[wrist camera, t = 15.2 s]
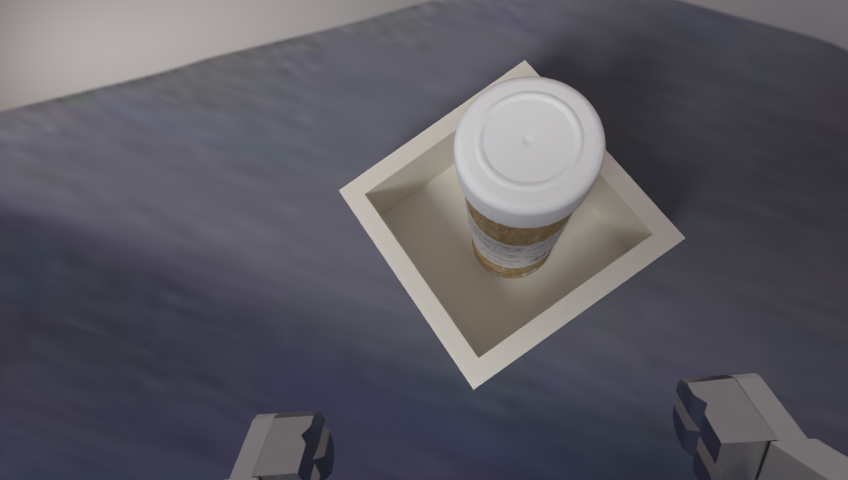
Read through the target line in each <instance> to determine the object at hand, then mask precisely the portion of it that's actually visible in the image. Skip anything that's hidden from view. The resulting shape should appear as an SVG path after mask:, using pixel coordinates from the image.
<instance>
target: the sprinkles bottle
mask: <svg viewBox="0 0 848 480" xmlns="http://www.w3.org/2000/svg"><path fill="white" fill-rule="evenodd" d="M605 148H606V142H605V134H604V129H603V126H602V123H601V120H600V118H599V116H598V114H597V112H596V110H595V109H594V108H593V106H592V105H591V104H590V102H589V101H588V100H587V99H586V98H585V97H584V96H583V95H582V94H580V93H579V92H578V91H576V90H575V89H574V88H572V87H570V86H569V85H567V84H564V83H562V82H560V81H557V80H554V79H549V78H545V77H535V76H527V77H518V78H513V79H509V80H505V81H503V82H500V83H498V84H495V85H494V86H492V87H490V88H488V89H487V90H485V91H484V92H483V93H481V94H480V95H479V96H477V97H476V98H475V99H474V100H473V101H472V102H471V104H470V105H469V106H468V107H467V109H466V110H465V112H464V113H463V115H462V117H461V118H460V121H459V123H458V126H457V129H456V133H455V138H454V160H455V167H456V172H457V177H458V181H459V184H460V187H461V190H462V192H463V194H464V196H465V203H466V208H467V214H468V220H469V225H470V230H471V235H472V246H473V249H474V254H475V256H476V258H477V259H478V260H479V262H480V263H481V265H482V266H483V267H484V268H485V269H486V270H488V271H489V272H491V273H493V274H494V275H496V276H499V277H504V278H521V277H525V276H528V275H530V274H532V273H533V272H535V271H537V270H538V269H539V268H540V267H541V266H542V265H543V264H544V263H545V262H546V260H547V258H548V256H549V255H550V252H551V250H552V248H553V247H554V245H555V243H556V242H557V240H558V239H559V237H560V235H561V234H562V232H563V230H564V228H565V226H566V225H567V223H568V221H569V219H570V218H571V216H572V214H573V212H574V211H575V210H576V209H577V208H578V207H579V206H580V205H581V204H582V202H583V201H584V200H585V199H586V197H587V196H588V194H589V192H590V191H591V189H592V187H593V185H594V183H595V181H596V179H597V177H598V175H599V173H600V170H601V168H602V165H603V162H604V157H605Z"/></svg>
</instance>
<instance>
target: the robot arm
mask: <svg viewBox="0 0 848 480" xmlns="http://www.w3.org/2000/svg"><path fill="white" fill-rule="evenodd" d="M676 392H677V393H678V395H679V397H680V400H679V401H678V402H677V403H675V404H674V409H673V421H674V427H675V431H676V433H677V436H678V439H679V441H680V443H681V445H682V448H683V449H684V450H686V451H687V452H688V453H690V454H691V455H692V456H694V457H695V458H694V463H693V467H692V468H693V470H694V472H695V474H696V476H697V478H698V480H848V457H846V456H845V455H843V454H841V453H840V452H838V451H836V450H834V449H833V448H831V447H829V446H828V445H826V444H824V443H823V442H821V441H819V440H818V439H808V438H807V437H806V436H805V434H804V433H803V432H802V430H801V429H800V428H799V426H798V425H797V424H796V422H795V421H794V420H793V418H792V417H791V416H790V415H789V413H788V412H787V411H786V409H785V408H784V407H783V405H782V404H781V403H780V401H779V400H778V399H777V397H776V396H775V395H774V394H773V392H772V391H771V390H770V388H769V387H768V386H767V384H766V383H765V382H764V380H763V379H762V378H761V377H760V376H759V375H757V374H756V373H749V374H737V375H729V376H728V375H720V376H710V377H700V378H690V379H681V380H680V381H679V382H678V384H677V390H676ZM324 422H325V419H324V417H323V415H322V413H321V411H305V412H287V413H272V414H258V415H257V416H256V417H255V419H254V420H253V421H252V424H251V426H250V428H249V431H248V433H247V436H246V438H245V441H244V443H243V446H242V448H241V451H240V453H239V456H238V458H237V461H236V463H235V466H234V468H233V471H232V473H231V476H230V478H229V479H225V480H326V479H327V478H328V476H329V475H330V474H331V473H332V468H333V463H334V444H333V439H332V436H331V434H330V432H329V431H328V430H326V429H325V428H323V426H324Z"/></svg>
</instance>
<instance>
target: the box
mask: <svg viewBox="0 0 848 480" xmlns="http://www.w3.org/2000/svg"><path fill="white" fill-rule="evenodd" d="M527 76H535V77H540V76H539V75H538V74H537V73H536V72H535V70H534V69H533V68H532V67H531V66H530V65H529V64H528V63H527V62H526V60H525V61H523V62H522V63H520V64H519V65H517V66H516V67H515V68H513V69H512V70H510V71H509V72H507V73H506V74H505V75H503V76H502V77H500V78H499V79H497V80H496V81H495V82H493V83H492V84H490V85H489V86H487V87H486V88H485V89H483V90H482V91H480V92H479V93H477V94H476V95H475V96H473V97H472V98H470V99H469V100H467V101H466V102H465V103H463V104H462V105H460V106H459V107H457V108H456V109H455V110H453V111H452V112H450V113H449V114H447V115H446V116H445V117H443V118H442V119H440V120H439V121H437V122H436V123H435V124H433V125H432V126H430V127H429V128H427V129H426V130H425V131H423V132H422V133H420V134H419V135H417V136H416V137H415V138H413V139H412V140H410V141H409V142H407V143H406V144H405V145H403V146H402V147H400V148H399V149H397V150H396V151H395V152H393V153H392V154H390V155H389V156H387V157H386V158H385V159H383V160H382V161H380V162H379V163H377V164H376V165H375V166H373V167H372V168H370V169H369V170H367V171H366V172H365V173H363V174H362V175H360V176H359V177H357V178H356V179H355V180H353V181H352V182H350V183H349V184H347V185H346V186H345V187H343V188H342V189H340V190H339V191H340V193H341V194H342V196H343V197H344V199H345V200H346V202H347V203H348V205H349V206H350V208H351V209H352V211H353V212H354V214H355V215H356V217H357V218H358V220H359V221H360V223H361V224H362V225H363V227H364V228H365V230H366V231H367V233H368V234H369V236H370V237H371V239H372V240H373V242H374V243H375V245H376V246H377V248H378V249H379V251H380V252H381V254H382V255H383V257H384V258H385V259H386V261H387V262H388V264H389V265H390V267H391V268H392V270H393V271H394V273H395V274H396V276H397V277H398V279H399V280H400V282H401V283H402V285H403V286H404V288H405V289H406V290H407V292H408V293H409V295H410V296H411V298H412V299H413V301H414V302H415V304H416V305H417V307H418V308H419V310H420V311H421V313H422V314H423V316H424V317H425V319H426V320H427V322H428V323H429V324H430V326H431V327H432V329H433V330H434V332H435V333H436V335H437V336H438V338H439V339H440V341H441V342H442V344H443V345H444V347H445V348H446V350H447V351H448V353H449V354H450V356H451V357H452V358H453V360H454V361H455V363H456V364H457V366H458V367H459V369H460V370H461V372H462V373H463V375H464V376H465V378H466V379H467V381H468V382H469V384H470V385H471V387H472V388H473V389H475V388H477V387H478V386H479V385H481V384H482V383H484V382H485V381H486V380H488V379H489V378H491V377H492V376H493V375H495V374H496V373H498V372H499V371H500V370H502V369H503V368H505V367H506V366H507V365H509V364H510V363H512V362H513V361H514V360H516V359H517V358H519V357H520V356H521V355H523V354H524V353H526V352H527V351H528V350H530V349H531V348H533V347H534V346H535V345H537V344H538V343H540V342H541V341H542V340H544V339H545V338H547V337H548V336H549V335H551V334H552V333H554V332H555V331H556V330H558V329H559V328H561V327H562V326H563V325H565V324H566V323H568V322H569V321H570V320H572V319H573V318H575V317H576V316H577V315H579V314H580V313H582V312H583V311H584V310H586V309H587V308H589V307H590V306H591V305H593V304H594V303H596V302H597V301H598V300H600V299H601V298H603V297H604V296H605V295H607V294H608V293H610V292H611V291H612V290H614V289H615V288H617V287H618V286H619V285H621V284H622V283H624V282H625V281H626V280H628V279H629V278H631V277H632V276H633V275H635V274H636V273H637V272H639V271H640V270H642V269H643V268H644V267H646V266H647V265H649V264H650V263H651V262H653V261H654V260H656V259H657V258H658V257H660V256H661V255H663V254H664V253H665V252H667V251H668V250H670V249H671V248H672V247H674V246H675V245H677V244H678V243H679V242H681V241H682V240H684V239H685V237H684V236H683V235H682V234H681V233H680V232H679V230H678V229H677V228H676V227H675V226H674V225H673V224H672V223H671V222H670V220H669V219H668V218H667V217H666V216H665V215H664V214H663V213H662V212H661V210H660V209H659V208H658V207H657V206H656V205H655V204H654V203H653V202H652V200H651V199H650V198H649V197H648V196H647V195H646V194H645V193H644V192H643V190H642V189H641V188H640V187H639V186H638V185H637V184H636V183H635V182H634V180H633V179H632V178H631V177H630V176H629V175H628V174H627V173H626V172H625V170H624V169H623V168H622V167H621V166H620V165H619V164H618V163H617V162H616V160H615V159H614V158H613V157H612V156H611V155H610V154H609V153H608V152H607V150H606V149H605V157H604V162H603V165H602V168H601V170H600V173H599V175H598V177H597V179H596V181H595V183H594V185H593V187H592V189H591V191H590V192H589V194H588V196H587V197H586V199H585V200H584V201H583V202H582V204H581V205H580V206H579V207H578V208H577V209H576V210H575V211H574V212H573V214H572V216H571V218H570V219H569V221H568V223H567V225H566V226H565V228H564V230H563V232H562V234H561V235H560V237H559V239H558V240H557V242H556V243H555V245H554V247H553V248H552V250H551V252H550V255H549V256H548V258H547V260H546V262H545V263H544V264H543V265H542V266H541V267H540V268H539V269H538V270H537V271H535V272H533V273H532V274H530V275H528V276H525V277H521V278H504V277H499V276H496V275H494V274H493V273H491V272H489V271H488V270H486V269H485V268H484V267H483V266H482V265H481V263H480V262H479V260H478V259H477V258H476V256H475V254H474V249H473V246H472V235H471V230H470V225H469V220H468V214H467V208H466V203H465V196H464V194H463V192H462V190H461V187H460V184H459V181H458V177H457V172H456V167H455V160H454V138H455V133H456V129H457V126H458V123H459V121H460V118H461V117H462V115H463V113H464V112H465V110H466V109H467V107H468V106H469V105H470V104H471V102H472V101H473V100H474V99H475V98H476V97H477V96H479V95H480V94H481V93H483V92H484V91H485V90H487V89H488V88H490V87H492V86H494V85H495V84H498V83H500V82H503V81H505V80H509V79H513V78H518V77H527Z"/></svg>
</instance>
